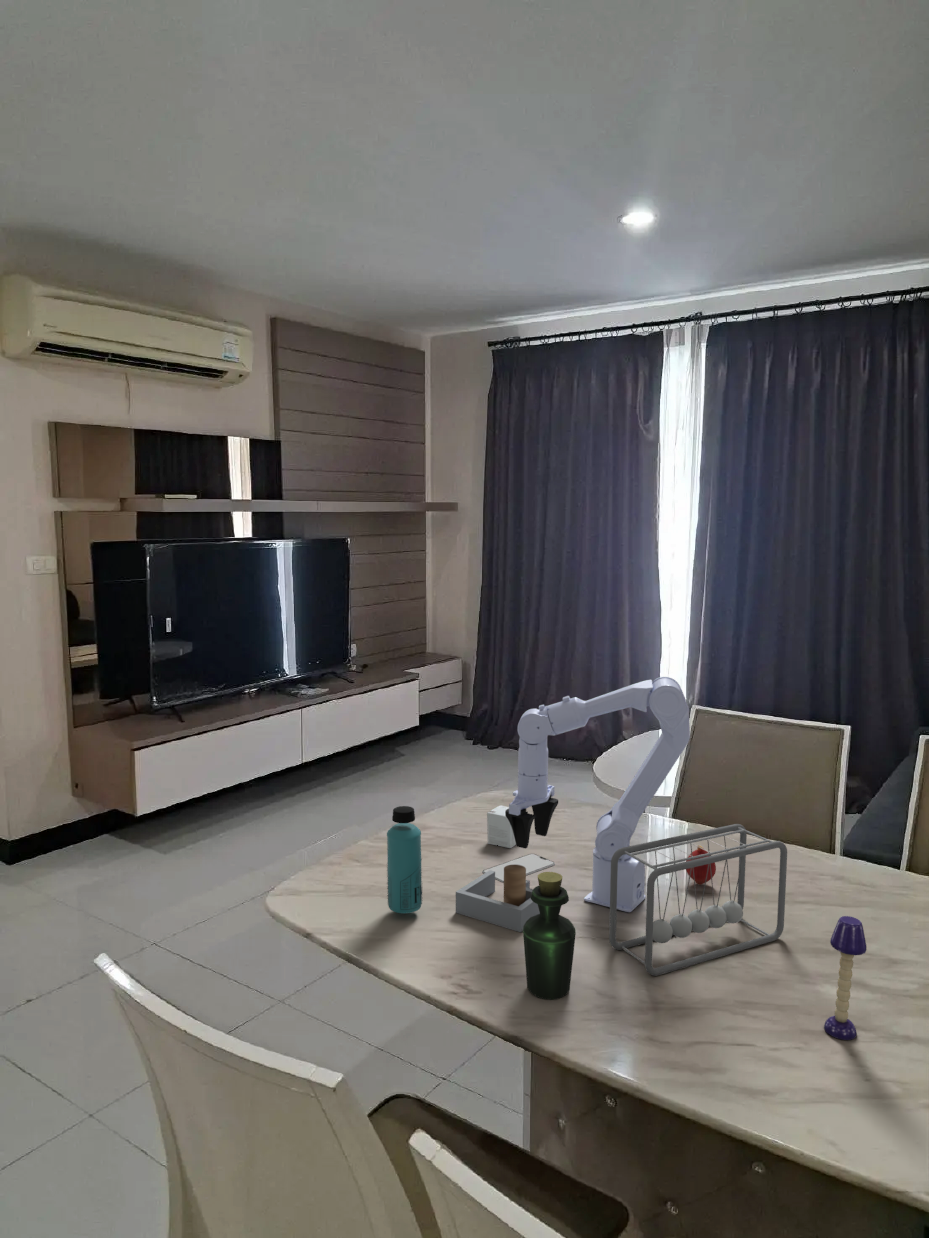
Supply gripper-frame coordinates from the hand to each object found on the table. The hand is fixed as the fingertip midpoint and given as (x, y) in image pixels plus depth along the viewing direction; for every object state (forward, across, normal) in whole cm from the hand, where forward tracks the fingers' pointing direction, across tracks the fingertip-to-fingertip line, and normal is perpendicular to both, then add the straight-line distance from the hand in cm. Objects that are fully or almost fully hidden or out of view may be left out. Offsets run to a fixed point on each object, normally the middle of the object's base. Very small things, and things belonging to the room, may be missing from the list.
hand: (531, 840), depth 165 cm
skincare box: (+11, -20, -18) cm, 29 cm away
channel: (+10, +9, 0) cm, 14 cm away
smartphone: (+11, -9, -8) cm, 16 cm away
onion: (+10, -22, +26) cm, 36 cm away
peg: (+10, +11, +3) cm, 15 cm away
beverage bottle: (+11, +21, -15) cm, 28 cm away
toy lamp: (+10, +16, +59) cm, 62 cm away
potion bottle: (+11, +29, +19) cm, 36 cm away
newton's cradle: (+11, +2, +34) cm, 35 cm away
